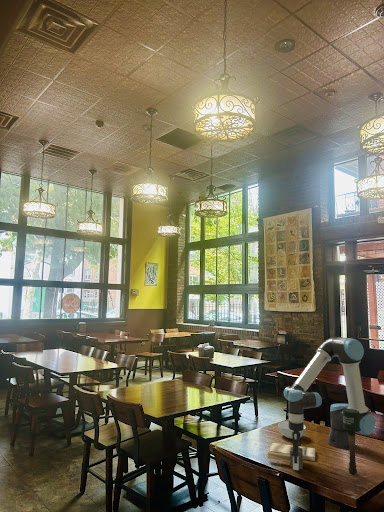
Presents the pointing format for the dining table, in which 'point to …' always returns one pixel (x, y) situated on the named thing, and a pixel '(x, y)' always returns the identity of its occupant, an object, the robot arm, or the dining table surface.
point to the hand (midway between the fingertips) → (296, 464)
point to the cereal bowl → (288, 430)
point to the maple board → (285, 449)
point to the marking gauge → (288, 457)
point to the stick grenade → (351, 434)
